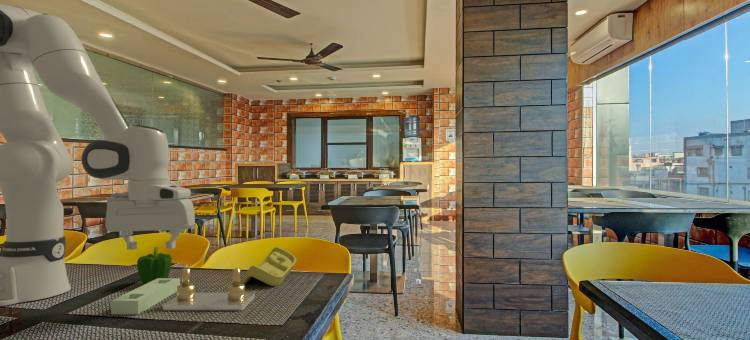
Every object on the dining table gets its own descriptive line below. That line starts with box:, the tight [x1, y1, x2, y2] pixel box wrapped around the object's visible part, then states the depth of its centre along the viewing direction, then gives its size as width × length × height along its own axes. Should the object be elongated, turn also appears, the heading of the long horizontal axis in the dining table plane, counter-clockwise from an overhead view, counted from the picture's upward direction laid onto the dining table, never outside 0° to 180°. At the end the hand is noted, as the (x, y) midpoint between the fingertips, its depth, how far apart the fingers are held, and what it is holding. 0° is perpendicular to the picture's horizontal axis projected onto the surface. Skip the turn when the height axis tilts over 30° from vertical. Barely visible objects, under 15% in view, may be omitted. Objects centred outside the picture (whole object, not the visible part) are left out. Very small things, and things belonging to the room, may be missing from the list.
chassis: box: [162, 267, 256, 311], centre depth 92 cm, size 18×9×8 cm, turn 90°
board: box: [110, 277, 181, 315], centre depth 94 cm, size 18×6×3 cm, turn 0°
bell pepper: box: [136, 246, 173, 285], centre depth 109 cm, size 8×8×10 cm
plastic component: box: [240, 246, 297, 287], centre depth 115 cm, size 20×7×10 cm
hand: (151, 248), depth 94 cm, fingers open, 8 cm apart
